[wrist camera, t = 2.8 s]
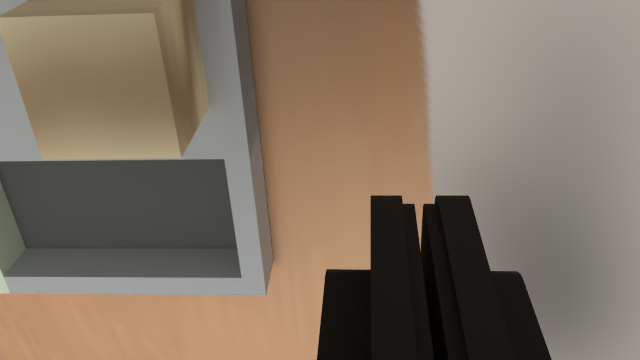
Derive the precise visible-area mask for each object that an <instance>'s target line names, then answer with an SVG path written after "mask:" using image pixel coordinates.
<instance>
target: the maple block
mask: <svg viewBox="0 0 640 360" xmlns="http://www.w3.org/2000/svg"><path fill="white" fill-rule="evenodd" d="M0 33H1V36H2V39H3V42H4V45H5V48H6V51H7V54H8V57H9V60H10V63H11V66H12V69H13V72H14V75H15V78H16V81H17V84H18V88H19V91H20V94H21V97H22V100H23V103H24V106H25V109H26V112H27V115H28V118H29V121H30V124H31V127H32V130H33V133H34V136H35V139H36V142H37V145H38V148H39V151H40V154H41V157H42V160H55V159H151V158H182V156H183V154H184V152H185V151H186V149H187V147H188V145H189V143H190V141H191V140H192V138H193V136H194V134H195V132H196V130H197V129H198V127H199V125H200V123H201V121H202V119H203V117H204V116H205V114H206V112H207V110H208V108H209V106H210V104H209V98H208V91H207V85H206V78H205V71H204V65H203V58H202V52H201V45H200V39H199V32H198V26H197V19H196V13H195V6H194V0H29V1H27V2H25V3H23V4H21V5H19V6H17V7H15V8H13V9H11V10H9V11H7V12H5V13H3V14H2V15H0Z"/></svg>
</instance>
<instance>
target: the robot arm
mask: <svg viewBox="0 0 640 360" xmlns="http://www.w3.org/2000/svg"><path fill="white" fill-rule="evenodd" d="M317 360H551V357H550V354H549V351H548V349H547V346H546V343H545V340H544V337H543V335H542V332H541V329H540V326H539V323H538V320H537V317H536V315H535V312H534V309H533V306H532V303H531V301H530V298H529V295H528V292H527V289H526V286H525V284H524V281H523V278H522V276H521V274H520V273H518V272H516V271H515V272H514V271H513V272H512V271H490V268H489V264H488V260H487V257H486V254H485V250H484V246H483V243H482V239H481V236H480V233H479V229H478V225H477V222H476V219H475V215H474V211H473V208H472V204H471V201H470V198H469V196H436V197H435V204H424V205H423V217H422V236H421V252H420V245H419V237H418V229H417V221H416V213H415V206H414V204H403V202H402V196H371V270H338V269H327V270H326V275H325V284H324V294H323V304H322V315H321V325H320V335H319V345H318V355H317Z"/></svg>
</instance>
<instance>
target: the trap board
mask: <svg viewBox="0 0 640 360" xmlns="http://www.w3.org/2000/svg"><path fill="white" fill-rule="evenodd" d="M27 1H29V0H0V15H2V14H3V13H5V12H7V11H9V10H11V9H13V8H15V7H17V6H19V5H21V4H23V3H25V2H27ZM194 6H195V13H196V19H197V26H198V32H199V39H200V45H201V52H202V58H203V65H204V71H205V78H206V85H207V91H208V98H209V104H210V106H209V108H208V110H207V112H206V114H205V116H204V117H203V119H202V121H201V123H200V125H199V127H198V129H197V130H196V132H195V134H194V136H193V138H192V140H191V141H190V143H189V145H188V147H187V149H186V151H185V152H184V154H183V156H182V158H151V159H55V160H42V157H41V154H40V151H39V148H38V145H37V142H36V139H35V136H34V133H33V130H32V127H31V124H30V121H29V118H28V115H27V112H26V109H25V106H24V103H23V100H22V97H21V94H20V91H19V88H18V84H17V81H16V78H15V75H14V72H13V69H12V66H11V63H10V60H9V57H8V54H7V51H6V48H5V45H4V42H3V39H2V36H1V33H0V293H20V294H160V295H266V294H267V289H268V284H269V279H270V274H271V269H272V264H273V253H272V244H271V234H270V225H269V216H268V207H267V198H266V188H265V179H264V170H263V161H262V152H261V142H260V133H259V124H258V115H257V105H256V96H255V87H254V78H253V69H252V59H251V50H250V41H249V32H248V22H247V13H246V4H245V0H194Z"/></svg>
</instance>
